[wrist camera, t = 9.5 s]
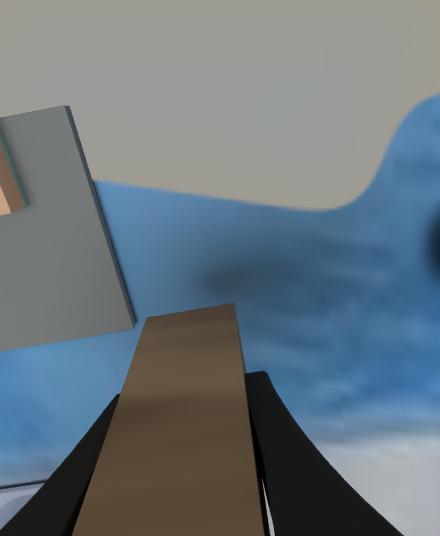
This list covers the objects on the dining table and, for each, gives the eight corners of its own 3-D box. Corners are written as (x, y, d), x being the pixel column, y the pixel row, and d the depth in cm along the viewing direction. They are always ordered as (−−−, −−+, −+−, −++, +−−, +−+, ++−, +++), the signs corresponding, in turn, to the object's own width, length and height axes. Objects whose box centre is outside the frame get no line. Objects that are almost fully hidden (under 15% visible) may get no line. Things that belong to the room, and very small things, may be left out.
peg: (246, 374, 14) (301, 748, 5) (166, 387, 14) (100, 770, 6) (233, 303, 13) (278, 635, 4) (146, 317, 13) (26, 668, 4)
